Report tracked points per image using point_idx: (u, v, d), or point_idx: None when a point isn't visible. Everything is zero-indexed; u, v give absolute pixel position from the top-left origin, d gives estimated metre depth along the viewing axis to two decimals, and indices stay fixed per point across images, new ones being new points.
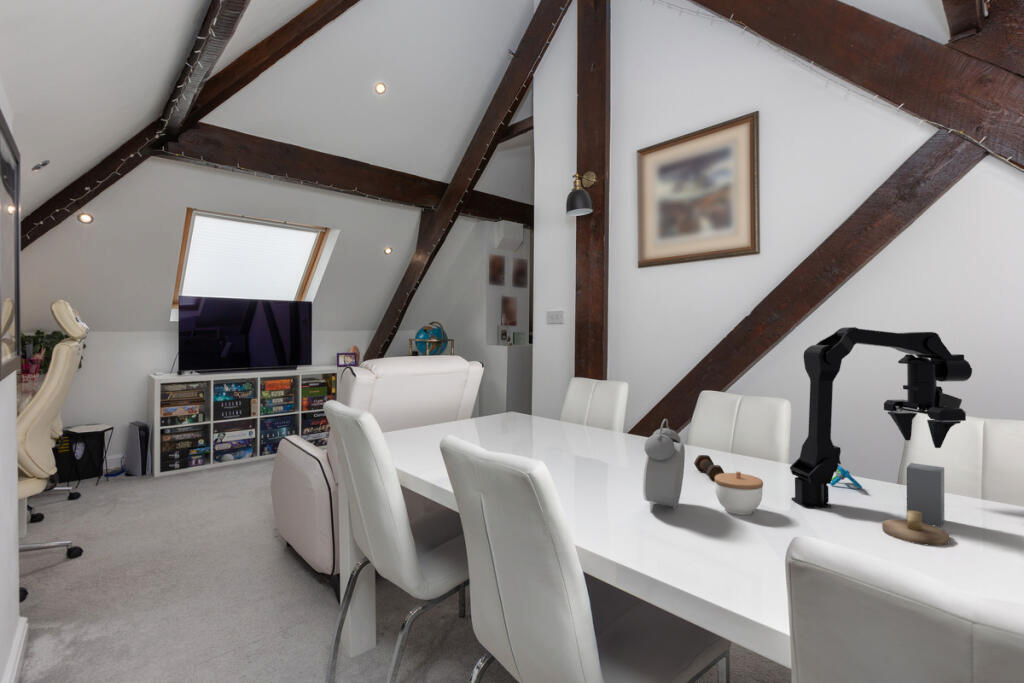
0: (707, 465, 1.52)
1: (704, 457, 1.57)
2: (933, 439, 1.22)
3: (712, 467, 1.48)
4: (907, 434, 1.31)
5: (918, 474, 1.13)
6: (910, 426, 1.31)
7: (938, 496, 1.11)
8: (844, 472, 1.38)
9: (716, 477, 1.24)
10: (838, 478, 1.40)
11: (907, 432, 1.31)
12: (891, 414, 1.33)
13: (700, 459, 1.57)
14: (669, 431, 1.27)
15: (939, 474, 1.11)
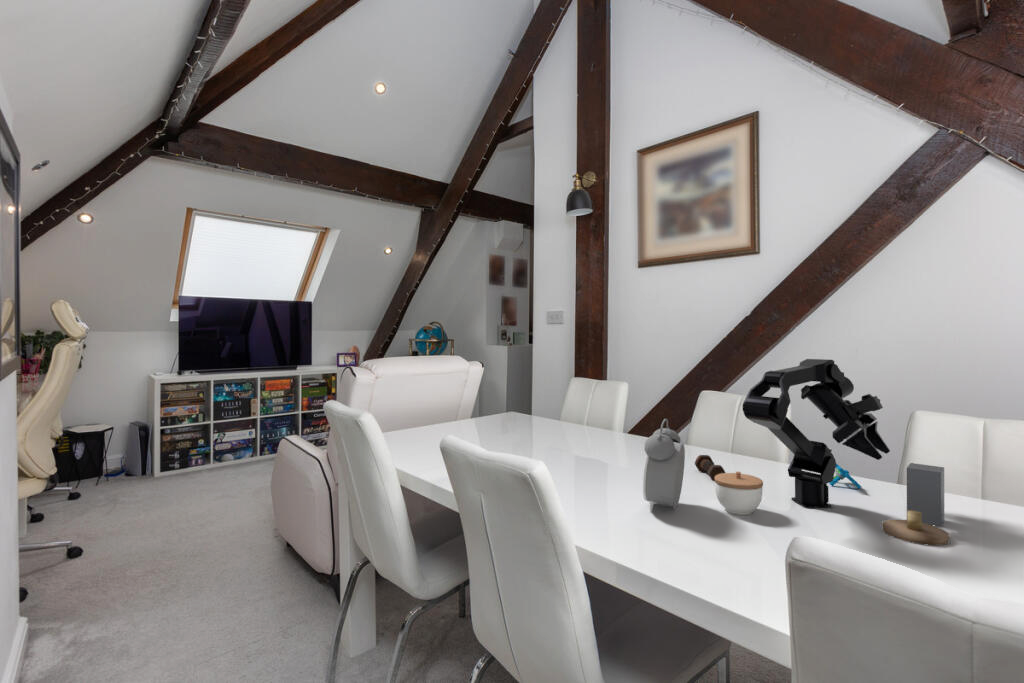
0: (708, 465, 1.52)
1: (704, 457, 1.57)
2: None
3: (713, 467, 1.48)
4: (882, 447, 1.24)
5: (918, 474, 1.13)
6: (878, 438, 1.25)
7: (938, 496, 1.11)
8: (843, 472, 1.38)
9: (716, 477, 1.24)
10: (837, 478, 1.40)
11: (880, 446, 1.24)
12: None
13: (700, 459, 1.57)
14: (669, 431, 1.27)
15: (939, 474, 1.11)
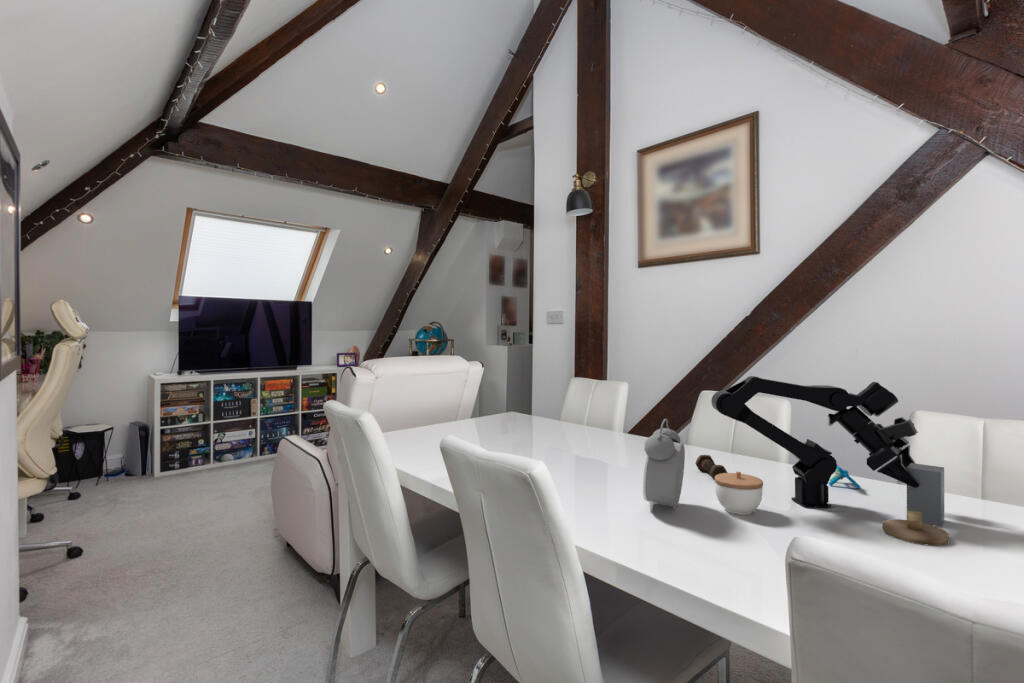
0: (709, 465, 1.52)
1: (705, 457, 1.57)
2: None
3: (715, 467, 1.48)
4: None
5: (918, 474, 1.13)
6: None
7: (938, 496, 1.11)
8: (842, 472, 1.38)
9: (716, 477, 1.24)
10: (837, 478, 1.41)
11: None
12: None
13: (701, 459, 1.57)
14: (669, 431, 1.27)
15: (939, 474, 1.11)
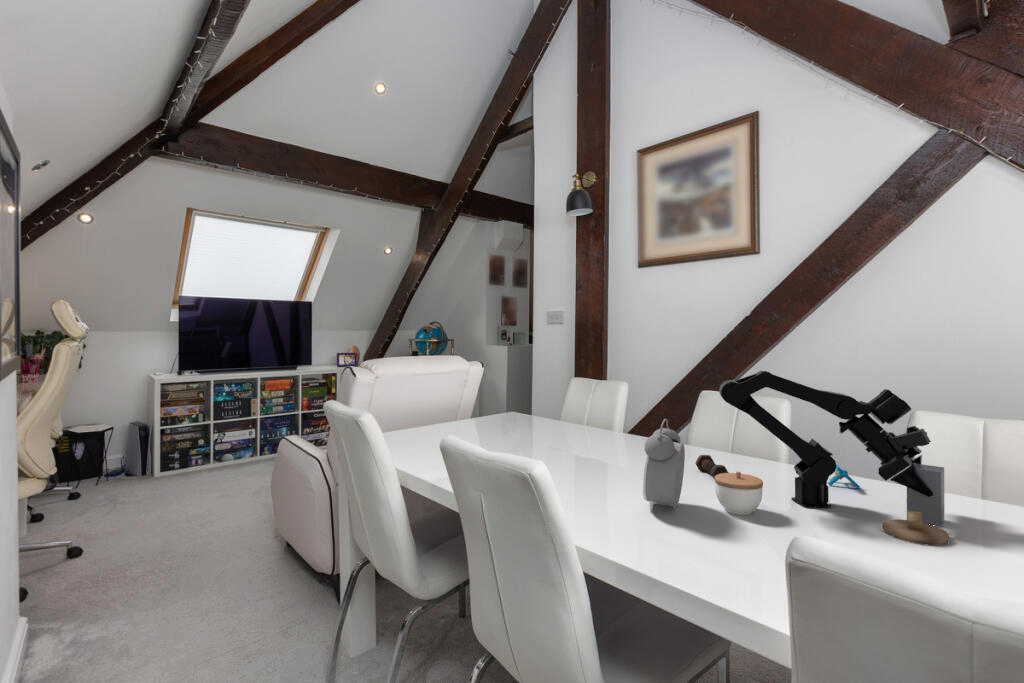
0: (710, 465, 1.52)
1: (705, 457, 1.58)
2: None
3: (716, 467, 1.48)
4: None
5: (918, 474, 1.13)
6: None
7: (938, 496, 1.11)
8: (841, 472, 1.38)
9: (716, 477, 1.24)
10: (836, 478, 1.41)
11: None
12: None
13: (702, 459, 1.57)
14: (669, 431, 1.27)
15: (939, 474, 1.11)
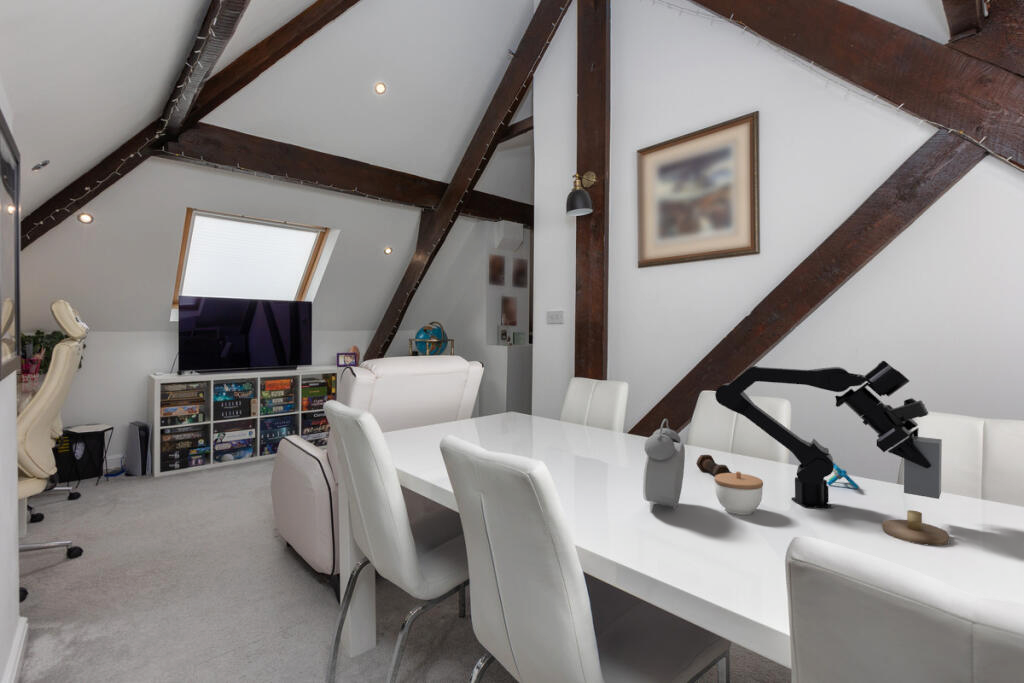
0: (712, 465, 1.52)
1: (706, 457, 1.58)
2: None
3: (719, 467, 1.48)
4: None
5: (916, 445, 1.11)
6: None
7: (936, 467, 1.09)
8: (840, 472, 1.38)
9: (716, 477, 1.24)
10: (835, 477, 1.41)
11: None
12: None
13: (702, 459, 1.58)
14: (669, 431, 1.27)
15: (937, 445, 1.09)
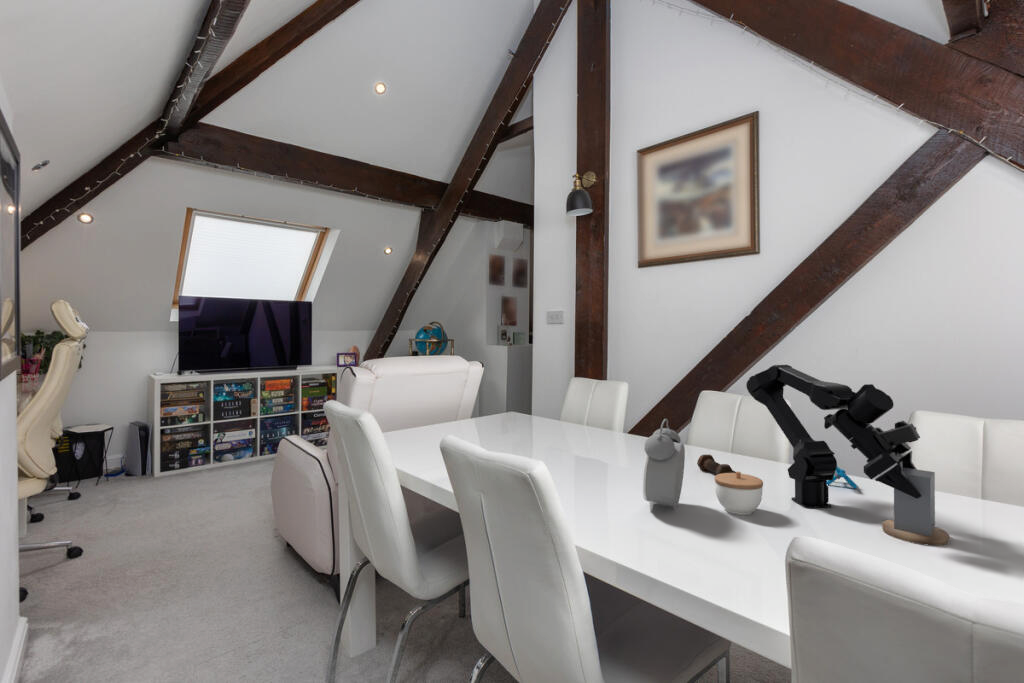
0: (714, 464, 1.53)
1: (707, 456, 1.58)
2: None
3: (722, 466, 1.48)
4: None
5: None
6: None
7: (927, 503, 1.03)
8: (838, 471, 1.39)
9: (716, 477, 1.24)
10: (834, 477, 1.41)
11: None
12: None
13: (703, 459, 1.58)
14: (669, 431, 1.27)
15: (928, 479, 1.02)
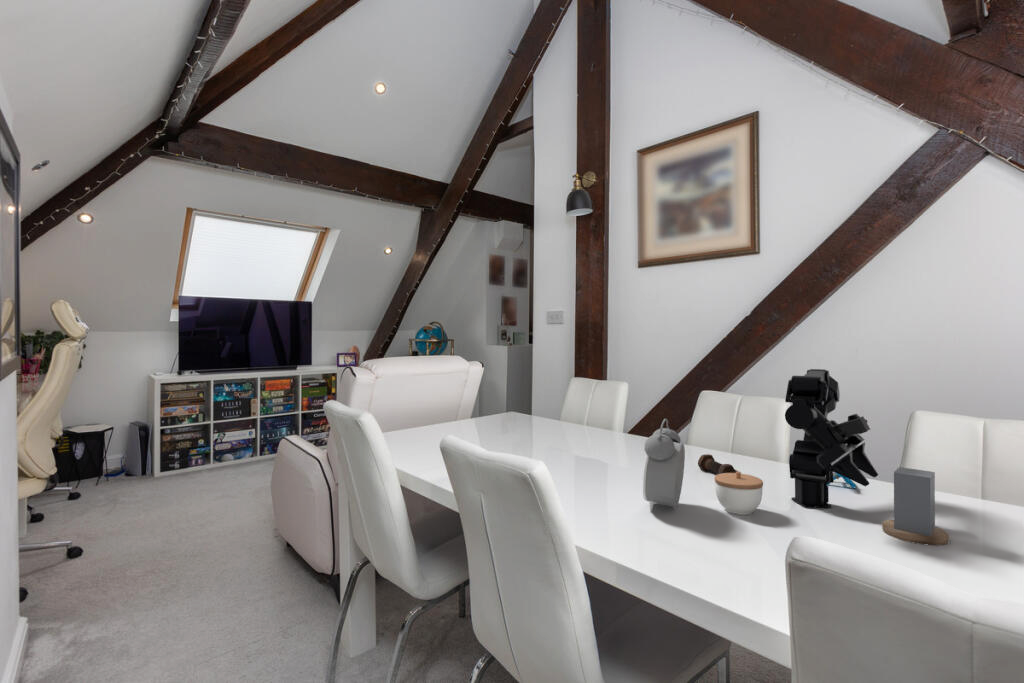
0: (715, 464, 1.53)
1: (707, 456, 1.58)
2: None
3: (725, 466, 1.48)
4: (869, 471, 1.16)
5: (906, 479, 1.05)
6: (866, 461, 1.17)
7: (927, 503, 1.03)
8: None
9: (716, 477, 1.24)
10: (833, 477, 1.41)
11: (868, 469, 1.17)
12: None
13: (704, 459, 1.58)
14: (669, 431, 1.27)
15: (928, 479, 1.02)
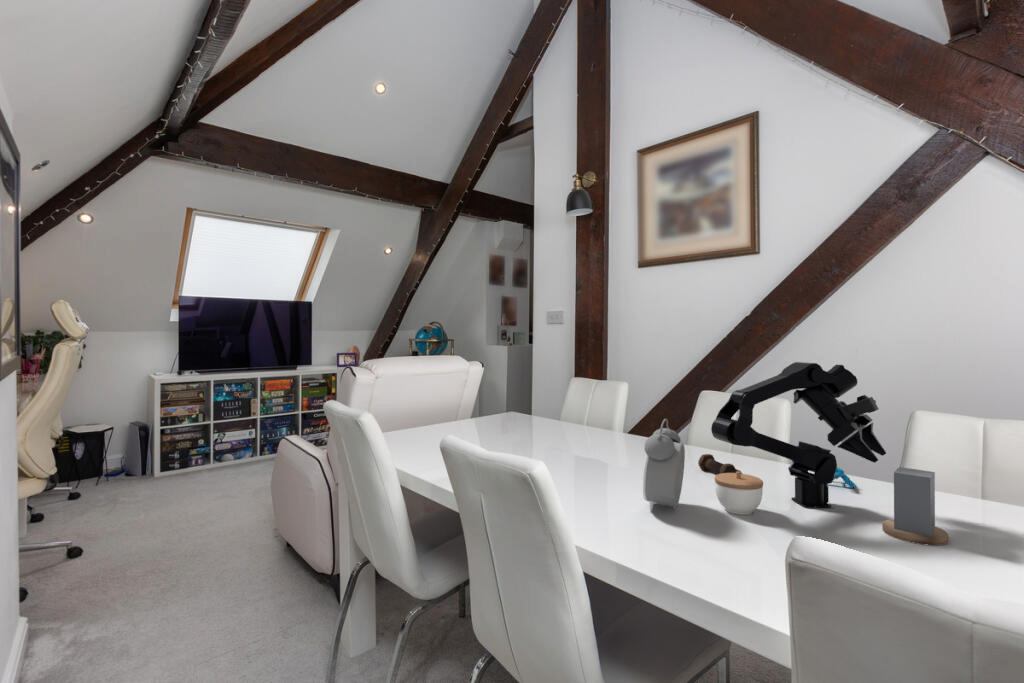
0: (716, 464, 1.53)
1: (708, 456, 1.58)
2: None
3: (726, 466, 1.49)
4: (878, 449, 1.21)
5: (906, 479, 1.05)
6: (874, 440, 1.22)
7: (927, 503, 1.03)
8: (836, 471, 1.39)
9: (716, 477, 1.24)
10: None
11: (876, 447, 1.22)
12: None
13: (705, 458, 1.58)
14: (669, 431, 1.27)
15: (928, 479, 1.02)
